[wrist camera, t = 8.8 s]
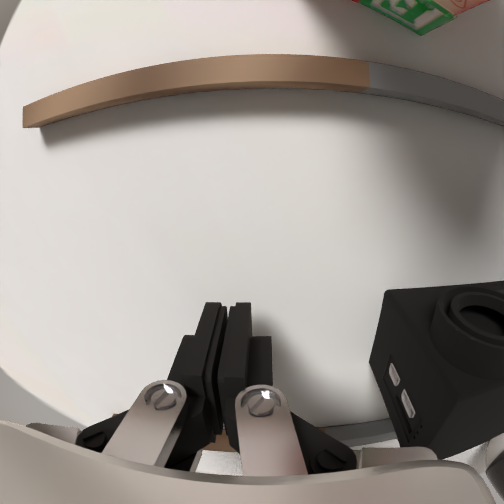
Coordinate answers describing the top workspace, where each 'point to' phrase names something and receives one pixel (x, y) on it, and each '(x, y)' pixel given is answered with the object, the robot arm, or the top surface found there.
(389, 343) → the digital camera
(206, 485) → the robot arm
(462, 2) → the stack of blocks
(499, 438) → the black rounded mouse
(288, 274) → the top surface
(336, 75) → the shelf lane
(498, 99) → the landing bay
